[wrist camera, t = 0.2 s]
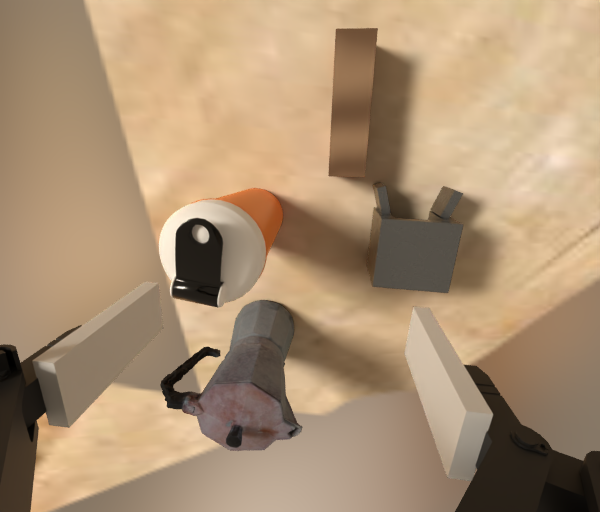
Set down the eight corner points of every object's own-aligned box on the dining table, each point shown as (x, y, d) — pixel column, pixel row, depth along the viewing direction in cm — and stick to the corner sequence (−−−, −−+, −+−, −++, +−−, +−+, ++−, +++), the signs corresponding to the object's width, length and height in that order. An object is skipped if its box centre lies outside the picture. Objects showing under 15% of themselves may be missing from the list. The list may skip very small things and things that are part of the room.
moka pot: (306, 362, 49) (288, 495, 31) (210, 339, 50) (135, 456, 31) (319, 310, 46) (310, 421, 27) (217, 285, 47) (139, 379, 28)
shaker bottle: (290, 181, 41) (253, 210, 22) (289, 248, 44) (256, 323, 25) (223, 179, 41) (131, 205, 23) (226, 244, 44) (147, 315, 26)
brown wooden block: (335, 44, 36) (335, 28, 31) (371, 44, 35) (377, 28, 31) (329, 172, 40) (328, 176, 35) (361, 173, 40) (364, 177, 35)
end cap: (373, 182, 40) (380, 188, 33) (451, 186, 39) (475, 194, 32) (363, 265, 43) (368, 286, 37) (434, 271, 43) (452, 293, 36)
